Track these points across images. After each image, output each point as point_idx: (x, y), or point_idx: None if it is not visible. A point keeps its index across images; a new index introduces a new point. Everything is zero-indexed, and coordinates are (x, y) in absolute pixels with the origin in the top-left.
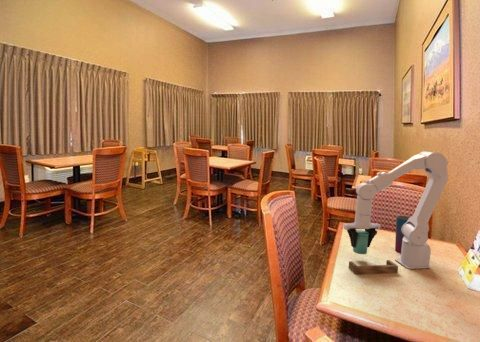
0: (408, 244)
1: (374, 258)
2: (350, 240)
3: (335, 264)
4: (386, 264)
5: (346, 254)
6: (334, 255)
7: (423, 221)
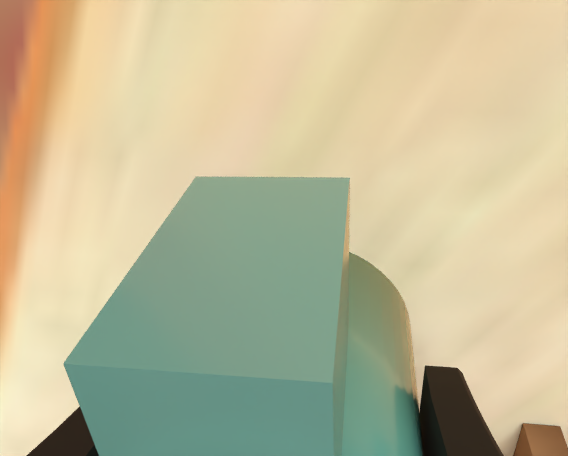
0: None
1: (556, 258)
2: (69, 418)
3: (10, 324)
4: (528, 446)
5: (198, 104)
6: (17, 126)
7: None
